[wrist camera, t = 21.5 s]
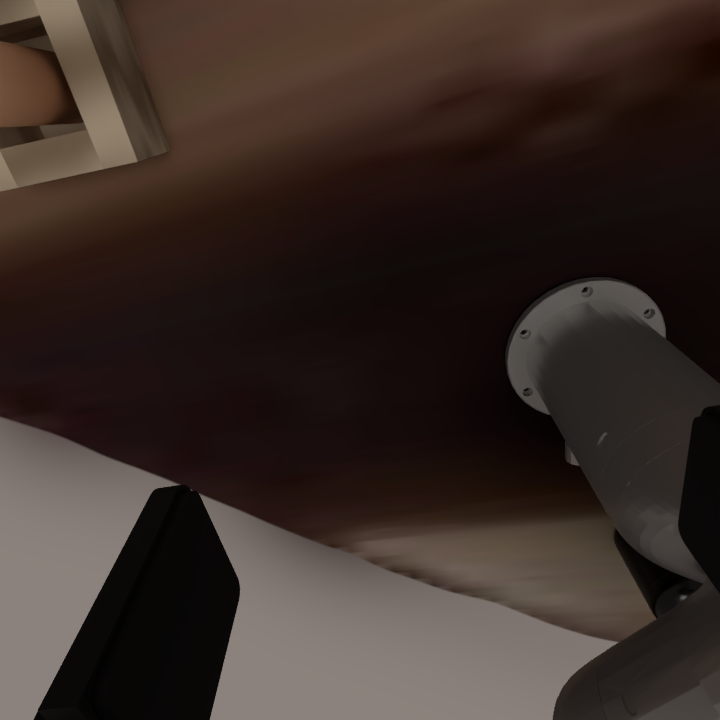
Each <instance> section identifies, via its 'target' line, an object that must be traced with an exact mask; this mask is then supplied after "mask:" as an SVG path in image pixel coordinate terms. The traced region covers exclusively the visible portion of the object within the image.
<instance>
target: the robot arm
mask: <svg viewBox="0 0 720 720" xmlns="http://www.w3.org/2000/svg"><path fill="white" fill-rule="evenodd" d="M585 287H586V288H585ZM584 288H585V289H584ZM583 289H584V290H583ZM582 290H583V291H582ZM523 330H525V331H524V332H522V331H523ZM505 365H506V370H507V375H508V377H509V379H510V382H511V384H512V386H513V387H514V389H515V391H516V393H517V394H518V395H519V396H520V397H521V399H522V400H523V401H524V402H525V403H527V404H528V405H530V406H531V407H532V408H534V409H535V410H538V411H540V412H543V413H545V414H548V415H551V416H552V418H553V420H554V422H555V423H556V425H557V427H558V429H559V430H560V432H561V434H562V436H563V437H564V439H565V459H566V461H567V462H569V463H570V464H573V465H580V467H581V469H582V471H583V472H584V474H585V476H586V478H587V480H588V481H589V483H590V485H591V487H592V488H593V490H594V492H595V494H596V495H597V497H598V499H599V501H600V502H601V504H602V506H603V508H604V509H605V511H606V513H607V514H608V516H609V518H610V520H611V521H612V523H613V525H614V526H615V528H616V529H617V531H618V532H619V533H620V535H621V536H622V537H623V538H624V539H625V540H626V541H627V543H628V544H629V545H630V546H631V547H633V548H634V549H635V550H636V551H637V552H639V553H640V554H641V555H643V556H644V557H645V558H647V559H648V560H650V561H652V562H654V563H655V564H657V565H659V566H661V567H663V568H665V569H667V570H669V571H671V572H674V573H676V574H679V575H681V576H684V577H686V578H689V579H692V580H694V581H697V582H700V583H703V585H702V586H701V587H700V588H699V589H698V590H697V591H695V592H694V593H693V594H691V595H690V596H688V597H687V598H686V599H684V600H683V601H681V602H680V603H678V604H676V605H675V607H674V608H673V609H672V610H670V611H668V612H667V613H665V614H664V615H662V616H660V617H659V618H657V619H656V620H654V621H652V622H651V623H649V624H648V625H646V626H644V627H643V628H641V629H640V630H638V631H636V632H635V633H633V634H632V635H630V636H628V637H627V638H625V639H624V640H622V641H620V642H619V643H617V644H616V645H614V646H612V647H611V648H609V649H607V650H606V651H605V652H603V653H602V654H600V655H599V656H597V657H596V658H594V659H593V660H591V661H590V662H588V663H587V664H586V665H584V666H583V667H582V668H580V669H579V670H578V671H577V672H576V673H575V674H574V675H573V676H571V677H570V679H569V680H568V681H567V683H566V684H565V685H564V686H563V688H562V690H561V692H560V694H559V696H558V698H557V701H556V704H555V708H554V714H553V720H720V384H719V383H718V382H717V381H716V380H714V379H713V378H712V377H711V376H710V375H708V374H707V373H706V372H705V371H704V370H702V369H701V368H700V367H699V366H698V365H696V364H695V363H694V362H693V361H692V360H690V359H689V358H688V357H687V356H686V355H684V354H683V353H682V352H681V351H680V350H678V349H677V348H676V347H675V346H674V345H672V344H671V343H670V342H669V341H668V340H666V327H665V323H664V319H663V315H662V314H661V312H660V310H659V308H658V306H657V305H656V303H655V302H654V301H653V300H652V299H651V298H650V297H649V296H648V295H647V294H646V293H644V292H643V291H641V290H640V289H639V288H637V287H635V286H633V285H631V284H629V283H627V282H625V281H622V280H618V279H614V278H607V277H590V278H583V279H577V280H574V281H571V282H568V283H564V284H562V285H560V286H558V287H556V288H554V289H552V290H550V291H548V292H547V293H545V294H544V295H542V296H541V297H539V298H538V299H537V300H535V301H534V302H533V303H532V304H531V305H530V306H529V307H528V308H527V309H526V310H525V311H524V312H523V314H522V315H521V316H520V318H519V319H518V320H517V322H516V323H515V325H514V327H513V329H512V331H511V333H510V335H509V338H508V342H507V346H506V352H505ZM239 596H240V585H239V580H238V577H237V575H236V573H235V571H234V569H233V567H232V564H231V562H230V560H229V558H228V556H227V554H226V551H225V549H224V547H223V545H222V543H221V541H220V538H219V536H218V534H217V532H216V530H215V528H214V525H213V523H212V521H211V519H210V517H209V515H208V512H207V510H206V508H205V506H204V504H203V501H202V499H201V497H200V495H199V494H198V492H197V491H191V490H190V489H189V487H188V486H186V485H177V486H171V487H164V488H158V489H155V490H154V491H153V492H152V494H151V495H150V497H149V499H148V501H147V503H146V505H145V507H144V508H143V510H142V512H141V514H140V516H139V518H138V520H137V522H136V524H135V526H134V528H133V529H132V531H131V534H130V535H129V537H128V539H127V541H126V543H125V545H124V547H123V549H122V550H121V552H120V554H119V556H118V558H117V560H116V562H115V564H114V566H113V568H112V570H111V571H110V574H109V576H108V577H107V579H106V581H105V583H104V585H103V587H102V589H101V591H100V592H99V594H98V596H97V598H96V600H95V602H94V604H93V606H92V608H91V610H90V612H89V613H88V616H87V617H86V619H85V621H84V623H83V625H82V627H81V629H80V631H79V633H78V634H77V636H76V638H75V640H74V642H73V644H72V646H71V648H70V650H69V652H68V654H67V656H66V658H65V659H64V661H63V663H62V665H61V667H60V669H59V671H58V673H57V675H56V677H55V678H54V680H53V682H52V684H51V686H50V688H49V690H48V692H47V694H46V696H45V698H44V699H43V701H42V703H41V705H40V707H39V709H38V712H37V714H36V716H35V718H34V720H210V716H211V712H212V708H213V704H214V699H215V696H216V691H217V687H218V683H219V679H220V675H221V671H222V667H223V662H224V659H225V655H226V651H227V647H228V642H229V638H230V634H231V630H232V626H233V622H234V617H235V614H236V610H237V605H238V601H239Z"/></svg>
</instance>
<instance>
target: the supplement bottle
mask: <svg viewBox="0 0 720 720" xmlns="http://www.w3.org/2000/svg"><path fill="white" fill-rule="evenodd" d="M615 544H616V547H617V549H618V551H619V552H620V554H621V556H622V558H623V560H624V562H625V564H626V565H627V567H628V569H629V571H630V573H631V575H632V576H633V578H634V580H635V582H636V584H637V585H638V587H639V589H640V591H641V593H642V595H643V596H644V598H645V600H646V602H647V604H648V606H649V607H650V609H651V611H652V613H653V614H654V616H655V617H656V618H659V617H660V616H662V615H664V614H665V613H667V612H668V611H670V610H672V609H673V608H674V607H675V605H676V604H678V603H680V602H681V601H683V600H684V599H686V598H687V597H688V596H690V595H691V594H693V593H694V592H695V591H697V590H698V589H699V588H700V587H701V586H702V585H703V583H700V582H697V581H694V580H692V579H689V578H686V577H684V576H681V575H679V574H676V573H674V572H671V571H669V570H667V569H665V568H663V567H661V566H659V565H657V564H655V563H654V562H652V561H650V560H648V559H647V558H645V557H644V556H643V555H641V554H640V553H639V552H637V551H636V550H635V549H634V548H633V547H631V546H630V545H629V544H628V543H627V541H626V540H625V539H624V538H623V537H622V536H621V535H620V533H619V532H618V531H617V530H616V533H615Z"/></svg>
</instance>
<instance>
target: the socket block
mask: <svg viewBox="0 0 720 720" xmlns="http://www.w3.org/2000/svg"><path fill="white" fill-rule="evenodd" d="M0 41H2V42H7V43H12V44H17V45H22V46H27V47H32V48H37V49H42V50H47V51H52V52H55V53H56V55H57V58H58V60H59V63H60V65H61V68H62V70H63V72H64V75H65V77H66V80H67V82H68V85H69V87H70V89H71V92H72V94H73V97H74V99H75V102H76V104H77V106H78V109H79V111H80V114H81V116H82V119H83V121H84V122H83V123H78V124H60V125H40V126H20V127H0V191H5V190H9V189H14V188H18V187H23V186H28V185H32V184H37V183H42V182H46V181H51V180H55V179H60V178H65V177H69V176H74V175H79V174H83V173H88V172H93V171H97V170H102V169H106V168H111V167H116V166H120V165H125V164H130V163H134V162H139V161H142V160H145V159H148V158H151V157H154V156H157V155H160V154H163V153H166V152H169V151H170V148H169V145H168V142H167V139H166V137H165V134H164V131H163V128H162V125H161V122H160V119H159V116H158V114H157V111H156V108H155V105H154V102H153V99H152V96H151V93H150V90H149V88H148V85H147V82H146V79H145V76H144V73H143V70H142V67H141V64H140V62H139V59H138V56H137V53H136V50H135V47H134V44H133V41H132V39H131V36H130V33H129V30H128V27H127V24H126V21H125V18H124V15H123V13H122V10H121V7H120V4H119V1H118V0H0Z"/></svg>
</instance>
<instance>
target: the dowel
mask: <svg viewBox="0 0 720 720" xmlns="http://www.w3.org/2000/svg"><path fill="white" fill-rule="evenodd" d="M83 122H84V121H83V119H82V116H81V114H80V111H79V109H78V106H77V104H76V102H75V99H74V97H73V94H72V92H71V89H70V87H69V85H68V82H67V80H66V77H65V75H64V72H63V70H62V68H61V65H60V63H59V60H58V58H57V55H56V53H55V52H52V51H47V50H42V49H37V48H32V47H27V46H22V45H17V44H12V43H7V42H2V41H0V127H20V126H40V125H60V124H78V123H83Z"/></svg>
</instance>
